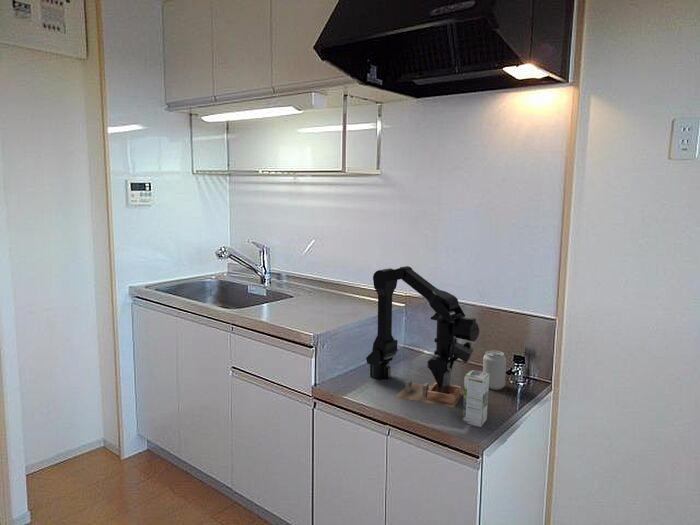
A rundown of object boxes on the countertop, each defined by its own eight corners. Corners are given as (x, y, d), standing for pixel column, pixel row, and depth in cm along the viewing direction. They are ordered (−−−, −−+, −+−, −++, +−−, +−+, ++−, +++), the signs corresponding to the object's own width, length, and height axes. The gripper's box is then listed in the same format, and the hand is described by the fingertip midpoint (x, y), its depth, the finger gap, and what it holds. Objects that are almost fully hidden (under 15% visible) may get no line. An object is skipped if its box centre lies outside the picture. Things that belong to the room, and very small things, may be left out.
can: (493, 392, 172) (494, 357, 171) (477, 384, 179) (478, 351, 177) (509, 388, 176) (511, 354, 174) (494, 381, 182) (495, 348, 181)
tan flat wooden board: (395, 399, 166) (395, 387, 166) (409, 385, 179) (409, 373, 178) (453, 410, 158) (454, 397, 158) (464, 394, 171) (464, 382, 170)
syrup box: (468, 415, 155) (469, 369, 153) (487, 420, 152) (489, 372, 150) (461, 423, 150) (463, 375, 148) (482, 428, 147) (484, 378, 145)
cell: (436, 396, 166) (436, 367, 164) (439, 392, 169) (440, 363, 168) (448, 398, 164) (449, 369, 162) (451, 394, 167) (452, 365, 166)
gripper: (464, 346, 152) (462, 397, 154) (477, 330, 169) (475, 376, 171) (427, 341, 157) (426, 391, 159) (443, 326, 173) (442, 371, 175)
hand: (444, 382), depth 166 cm, fingers open, 9 cm apart
